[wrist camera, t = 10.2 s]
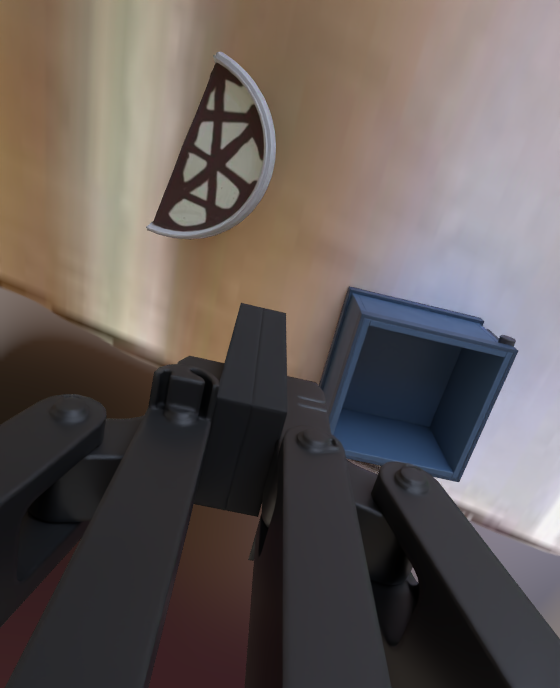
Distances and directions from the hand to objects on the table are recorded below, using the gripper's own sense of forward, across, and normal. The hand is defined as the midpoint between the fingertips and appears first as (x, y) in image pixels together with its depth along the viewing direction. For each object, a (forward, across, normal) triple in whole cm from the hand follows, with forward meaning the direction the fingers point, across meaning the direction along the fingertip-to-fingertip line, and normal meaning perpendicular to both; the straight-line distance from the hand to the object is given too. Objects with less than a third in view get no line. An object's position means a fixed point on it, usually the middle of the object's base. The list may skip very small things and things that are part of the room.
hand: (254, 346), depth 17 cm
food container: (+29, -4, +4) cm, 29 cm away
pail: (+24, +8, -10) cm, 28 cm away
